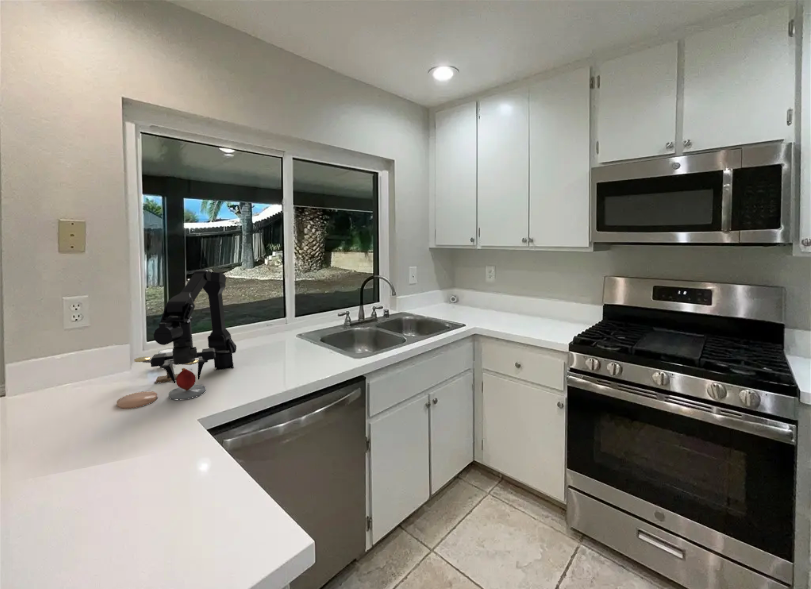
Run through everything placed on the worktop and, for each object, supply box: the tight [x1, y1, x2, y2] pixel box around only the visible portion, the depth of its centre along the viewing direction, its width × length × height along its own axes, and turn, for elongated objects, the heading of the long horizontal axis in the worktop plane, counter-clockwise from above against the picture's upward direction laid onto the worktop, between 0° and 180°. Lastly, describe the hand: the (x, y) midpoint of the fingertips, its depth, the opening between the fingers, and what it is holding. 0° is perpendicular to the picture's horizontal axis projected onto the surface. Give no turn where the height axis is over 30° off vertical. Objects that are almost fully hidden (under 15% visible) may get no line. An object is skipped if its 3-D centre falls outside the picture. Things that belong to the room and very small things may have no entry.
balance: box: [133, 356, 199, 384], centre depth 147 cm, size 21×5×9 cm, turn 114°
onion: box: [175, 367, 196, 390], centre depth 133 cm, size 6×6×8 cm
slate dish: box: [168, 383, 207, 401], centre depth 134 cm, size 11×11×1 cm
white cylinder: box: [157, 348, 178, 368], centre depth 162 cm, size 7×7×7 cm
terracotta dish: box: [116, 390, 158, 410], centre depth 128 cm, size 11×11×1 cm
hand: (186, 381), depth 134 cm, fingers open, 7 cm apart
